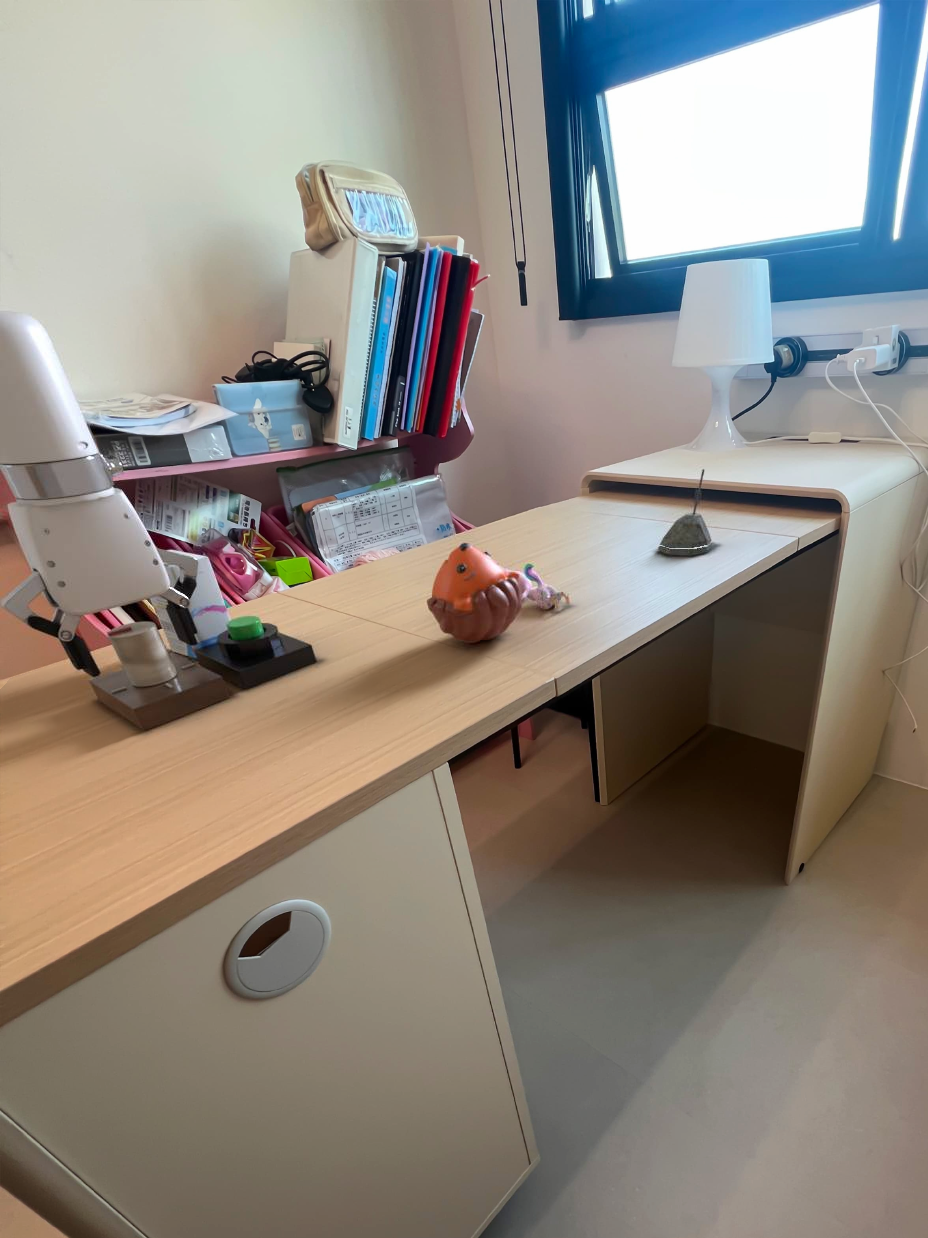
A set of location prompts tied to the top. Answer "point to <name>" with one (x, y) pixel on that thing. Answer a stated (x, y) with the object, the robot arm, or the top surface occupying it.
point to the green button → (245, 627)
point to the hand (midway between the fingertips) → (142, 657)
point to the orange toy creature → (474, 595)
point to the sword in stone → (688, 533)
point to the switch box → (255, 656)
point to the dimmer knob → (142, 653)
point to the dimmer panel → (161, 694)
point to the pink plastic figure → (538, 589)
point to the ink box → (195, 608)
